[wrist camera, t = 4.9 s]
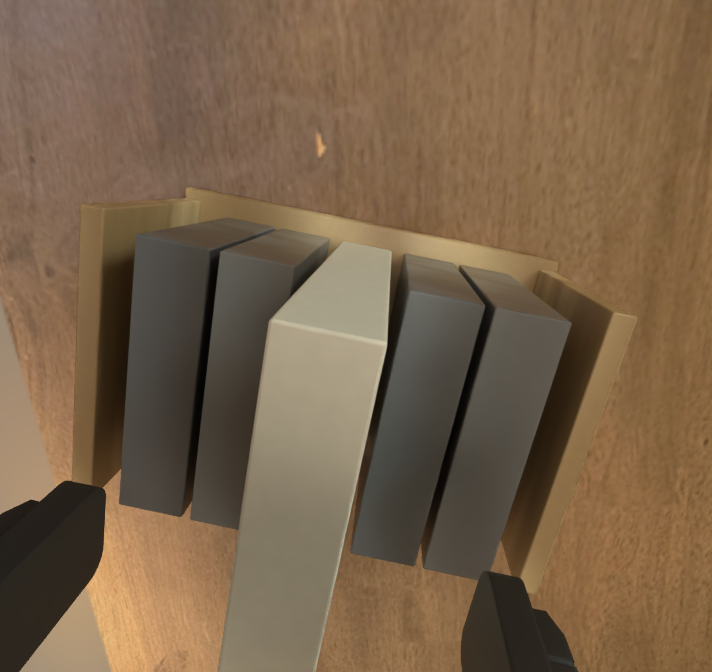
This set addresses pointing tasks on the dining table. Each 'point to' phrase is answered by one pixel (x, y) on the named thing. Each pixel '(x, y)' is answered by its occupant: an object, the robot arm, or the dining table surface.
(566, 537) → the dining table surface
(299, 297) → the white book
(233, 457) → the grey rack
